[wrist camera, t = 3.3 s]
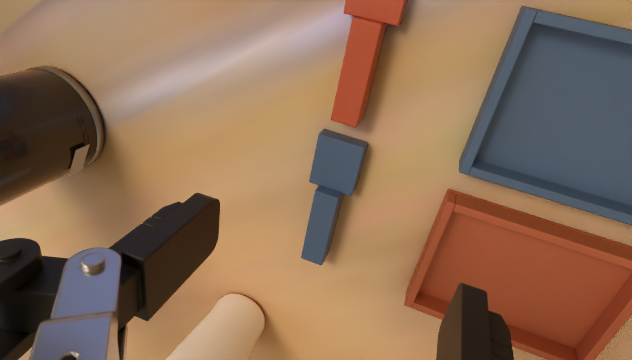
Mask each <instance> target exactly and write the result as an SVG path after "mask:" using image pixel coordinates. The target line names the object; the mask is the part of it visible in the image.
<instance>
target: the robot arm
mask: <svg viewBox="0 0 632 360" xmlns="http://www.w3.org/2000/svg"><path fill="white" fill-rule="evenodd" d="M103 145H104V129H103V124H102V120H101V117H100V114H99V112H98V110H97V108H96V106H95V104H94V102H93V100H92V99H91V97H90V96H89V94H88V93H87V92H86V91H85V89H84V88H83V87H82V86H81V85H80V84H79V83H78V82H77V81H76V80H75V79H73V78H72V77H71V76H69V75H68V74H66V73H65V72H63V71H61V70H59V69H56V68H53V67H48V66H40V67H35V68H30V69H27V70H25V71H22V72H17V73H12V74H7V75H2V76H0V206H2V205H4V204H6V203H8V202H10V201H12V200H14V199H16V198H18V197H20V196H22V195H24V194H26V193H28V192H31V191H33V190H35V189H37V188H39V187H41V186H43V185H45V184H47V183H49V182H51V181H53V180H55V179H57V178H60V177H62V176H64V175H66V174H68V173H69V176H71V175H73V174H75V173H77V172H79V171H81V170H82V168H83V167H85V166H87V165H89V164H91V163H93V162H94V161H95V160H97V158H98V157H99V156H100V154H101V152H102V149H103ZM69 176H68V177H69ZM219 215H220V202H219V200H218V199H215V198H212V197H209V196H206V195H203V194H200V193H195V194H194V195H193V196H191V197H190V198H189V199H188V200H186V201H185V202H184V203H181V202H176V203H174V204H171V205H168V206H165V207H163V208H162V209H160V210H159V211H158V212H156V213H155V214H154V215H152V217H150V218H148V219H147V220H146V221H144V222H143V224H140V225H139V226H138V227H136V228H135V229H134V230H132V231H131V232H130V233H128V234H127V235H126V236H124V237H123V238H122V239H120V240H119V241H118V242H116V243H115V244H114V245H112V246H111V247H110V248H91V249H86V250H83V251H81V252H78V253H77V254H75V255H73V256H72V257H70V258H69V259H67V258H57V257H48V256H42V255H41V250H40V246H39V245H38V243H37V242H35V241H33V240H30V239H25V238H14V239H8V240H3V241H0V360H18V359H19V358H20V357H21V356H22V355H24V354H25V353H26V352H27V351H28V350H29V349H30V348H31V347H32V346H33V347H32V350H31V353H30V357H29V360H125V359H126V346H127V332H128V326H127V323H128V322H129V321H130V320H131V319H132V318H133V317H134V316H136V317H139V318H141V319H143V320H146V321H149V319H150V318H151V317H152V316H153V315H154V314H155V313H156V312H157V311H158V310H159V309H160V308H161V307H162V306H163V304H164V303H165V302H166V301H167V300H168V299H169V298H170V297H171V296H172V295H173V294H174V293H175V292H176V291H177V289H178V288H179V287H180V286H181V285H182V284H183V283H184V282H185V281H186V280H187V279H188V278H189V277H190V276H191V274H192V273H193V272H194V271H195V270H196V269H197V268H198V267H199V266H200V265H201V264H202V263H203V262H204V261H205V259H206V258H207V257H208V256H209V255H210V254H211V253H212V251H213V250H214V248H215V246H216V243H217V240H218V233H219ZM436 360H514V357H513V350H512V341H511V334H510V330H509V328H508V326H507V324H506V323H505V321H504V319H503V317H502V316H501V314H498V313H495V312H492V311H489V310H488V297H487V292H486V291H485V290H482V289H479V288H476V287H473V286H470V285H467V284H464V283H459V285H458V287H457V289H456V291H455V293H454V295H453V298H452V300H451V302H450V304H449V306H448V309H447V311H446V313H445V315H444V318H443V320H442V323H441V326H440V330H439V335H438V345H437V358H436Z"/></svg>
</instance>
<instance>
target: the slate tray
mask: <svg viewBox="0 0 632 360" xmlns="http://www.w3.org/2000/svg"><path fill="white" fill-rule="evenodd" d="M459 172H460V173H464V174H467V175H470V176H473V177H477V178H480V179H483V180H486V181H490V182H493V183H496V184H499V185H503V186H506V187H509V188H513V189H516V190H519V191H522V192H526V193H529V194H532V195H535V196H539V197H542V198H545V199H548V200H552V201H555V202H558V203H562V204H565V205H568V206H571V207H575V208H578V209H581V210H584V211H588V212H591V213H594V214H597V215H601V216H604V217H607V218H611V219H614V220H617V221H620V222H624V223H627V224H630V225H632V30H630V29H625V28H621V27H616V26H612V25H607V24H603V23H598V22H593V21H589V20H584V19H580V18H575V17H571V16H566V15H562V14H557V13H552V12H548V11H543V10H539V9H534V8H530V7H525V6H522V7H521V9H520V12H519V14H518V17H517V19H516V22H515V24H514V27H513V29H512V32H511V34H510V37H509V39H508V42H507V44H506V46H505V49H504V51H503V54H502V56H501V59H500V61H499V64H498V66H497V69H496V71H495V74H494V76H493V79H492V81H491V83H490V86H489V88H488V91H487V93H486V96H485V98H484V101H483V103H482V106H481V108H480V111H479V113H478V116H477V118H476V121H475V123H474V125H473V128H472V130H471V133H470V135H469V138H468V140H467V143H466V145H465V148H464V150H463V153H462V155H461V158H460V160H459Z"/></svg>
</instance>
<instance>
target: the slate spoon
mask: <svg viewBox="0 0 632 360" xmlns="http://www.w3.org/2000/svg"><path fill="white" fill-rule="evenodd" d="M367 146H368V142H365V141H362V140H358V139H355V138H352V137H349V136H345V135H342V134H339V133H336V132H332V131H329V130H326V129H323V131H322V132H321V133H320V134H319V136H318V141H317V146H316V151H315V156H314V161H313V166H312V170H311V175H310V180H309V181H310V182H311V183H314V184H317V185H319V187H318V188H317V189H316V191H315V195H314V200H313V204H312V209H311V214H310V218H309V223H308V228H307V232H306V237H305V242H304V246H303V251H302V256H301V258H303V259H305V260H308V261H311V262H313V263H316V264H319V265H322V264H323V262H324V260H325V258H326V256H327V254H328V252H329V249H330V245H331V241H332V237H333V233H334V229H335V225H336V222H337V218H338V214H339V210H340V206H341V202H342V198H343V194H347V195H350V196H352V195H353V193H354V191H355V189H356V186H357V182H358V179H359V175H360V171H361V168H362V164H363V160H364V157H365V153H366V149H367Z"/></svg>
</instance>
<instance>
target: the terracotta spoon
mask: <svg viewBox="0 0 632 360" xmlns="http://www.w3.org/2000/svg"><path fill="white" fill-rule="evenodd" d="M406 3H407V0H346V3H345V8H344V13H345V14H349V15H353V16H357V17H354V18H353V19H352V24H351V28H350V33H349V37H348V42H347V47H346V51H345V56H344V61H343V65H342V70H341V75H340V79H339V84H338V89H337V93H336V98H335V102H334V107H333V112H332V116H331V120H332V121H335V122H339V123H342V124H345V125H349V126H352V127H357V126H358V124H359V123H360V122H361V120H362V119H363V116H364V112H365V109H366V105H367V101H368V97H369V93H370V89H371V85H372V81H373V77H374V73H375V70H376V66H377V62H378V58H379V54H380V50H381V46H382V42H383V38H384V35H385V31H386V27H387V24H390V25H394V26H398V25H400V24H401V21H402V17H403V14H404V10H405V6H406Z"/></svg>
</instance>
